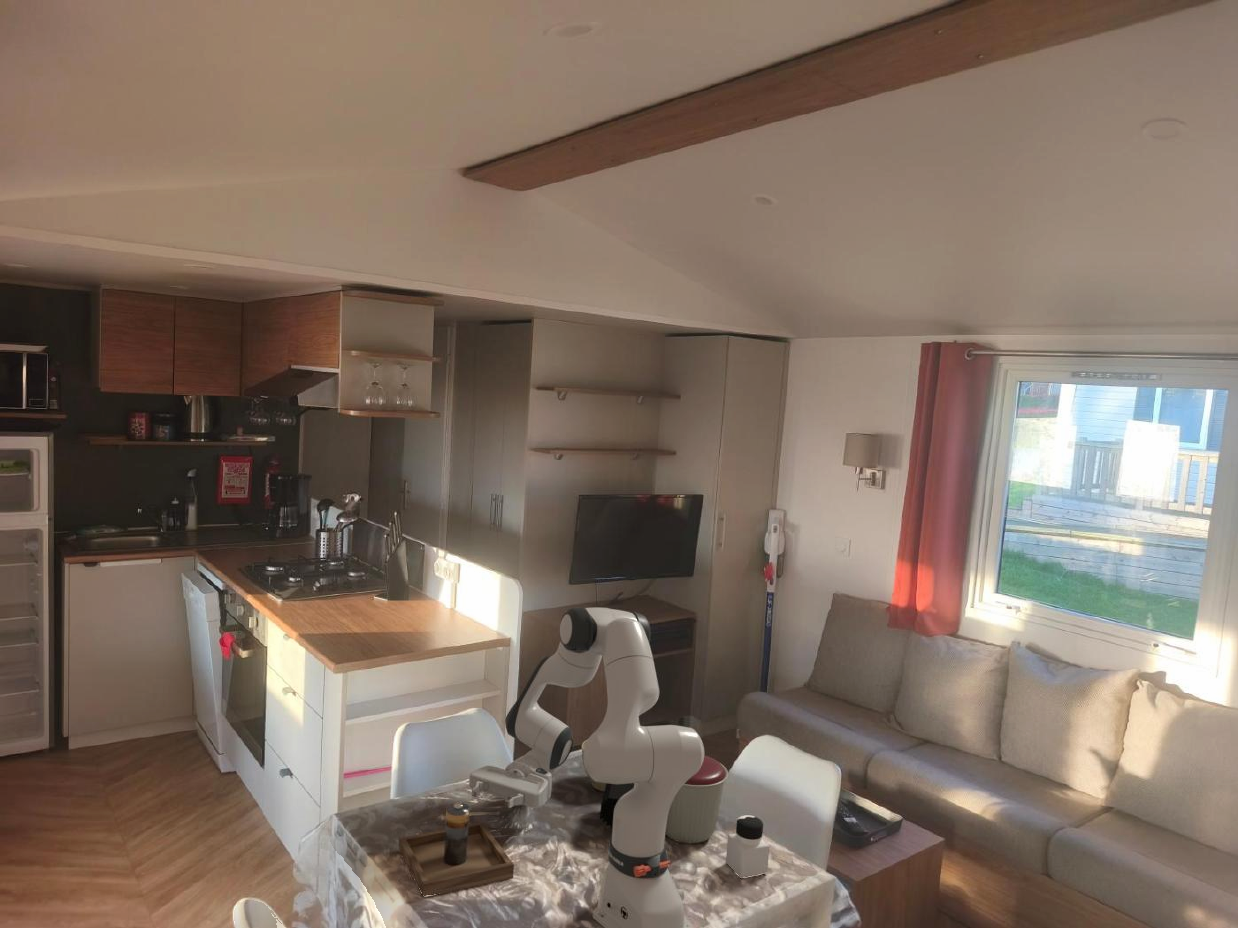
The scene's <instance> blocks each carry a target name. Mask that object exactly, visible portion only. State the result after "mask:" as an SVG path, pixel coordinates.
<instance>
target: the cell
mask: <svg viewBox="0 0 1238 928" xmlns="http://www.w3.org/2000/svg"><path fill="white" fill-rule="evenodd" d="M469 824H470V806H469V805H468V804H467V803H464V802H454V803H453V802H452V803H450V804H449V805H447V806H446V810H445V829H446V830H445V847H444V862H445V863H446V864H448V865H451V866H457V865H461V864H463V863H465V862H466V857H467V841H468V825H469Z"/></svg>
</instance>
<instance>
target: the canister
mask: <svg viewBox="0 0 1238 928" xmlns="http://www.w3.org/2000/svg"><path fill="white" fill-rule="evenodd" d="M728 777H729V771H728V769H727V768H726V767H725V766H724V765H723V764H722V763H721V762H720V761H717V760H716V759H714V758H712V757H710V756H707V755H705V754H704V760H703V763H702V766H701V768H700V770H699V771H698V772H697V773H696V774H695V775H694V776H692V777H691V778H690V779H689V780H688V781H687V782H686V783H685V784H684V785H683V786H682V787H681V789H680V790H679V791H678V793H677V794H676V796H675V798H674V800H673V802H672V804H671V806H670V809H669V812H668V817H667V823H666V831H665V836H667V837H668V838H670V839H671V840H674V841H676V842H678V843H683V844H692V843H693V844H700V843H704V842H706V841H707V840H708V839H710V838H711V837H712V835H713V834H714V832H715V829H716V825H717V820H718V817H719V812H720V806H721V803H722V797H723V792H724V787H725V782H726V781H727V779H728Z"/></svg>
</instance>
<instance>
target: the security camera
mask: <svg viewBox="0 0 1238 928" xmlns="http://www.w3.org/2000/svg"><path fill="white" fill-rule="evenodd" d="M634 787H635V783H629V784H609V783H606V787H605V790H604V791H603V795H602V798H601V804H600V813H599V814H600V816H599V819H601V820H602V822H603V823H605V826H609V827H611V828H613V815H614V808H615V806H616V804H617V802H618V800H619V799H620V798H621V797H622V796H623V795H624V794H626V793H627V792H629V791H630V790H632V789H633V788H634Z"/></svg>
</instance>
